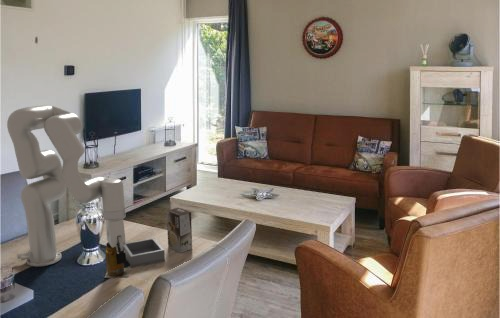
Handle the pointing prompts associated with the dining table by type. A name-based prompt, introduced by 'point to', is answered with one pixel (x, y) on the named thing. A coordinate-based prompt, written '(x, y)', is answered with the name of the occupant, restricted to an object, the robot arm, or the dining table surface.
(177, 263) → the dining table surface
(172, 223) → the coffee box
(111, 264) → the condiment
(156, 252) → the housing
